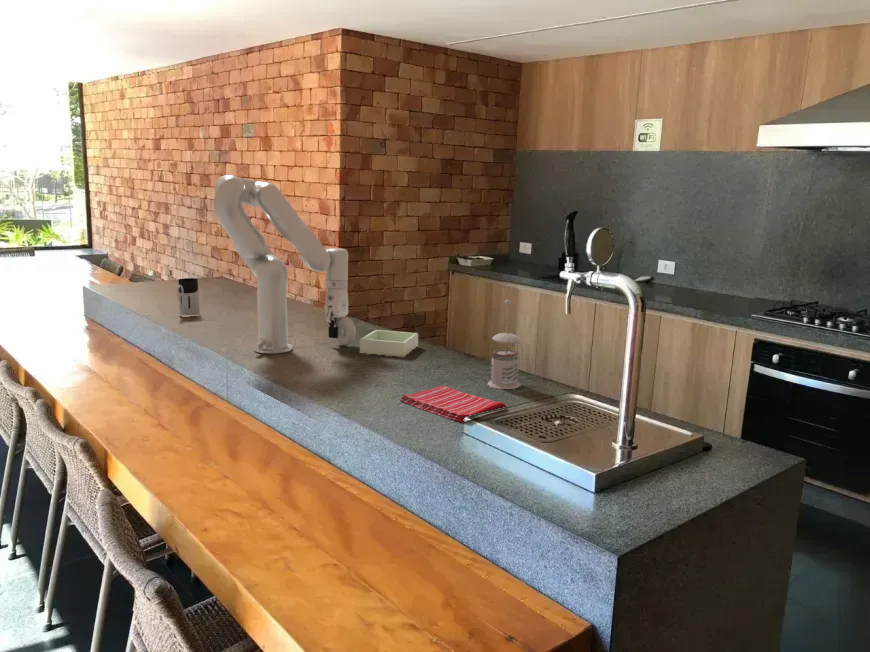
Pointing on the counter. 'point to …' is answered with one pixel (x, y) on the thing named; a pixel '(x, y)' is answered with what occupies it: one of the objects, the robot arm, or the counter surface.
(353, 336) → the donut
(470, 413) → the dish towel
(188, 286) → the glass holder
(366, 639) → the counter surface
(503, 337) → the french press
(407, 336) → the bin
